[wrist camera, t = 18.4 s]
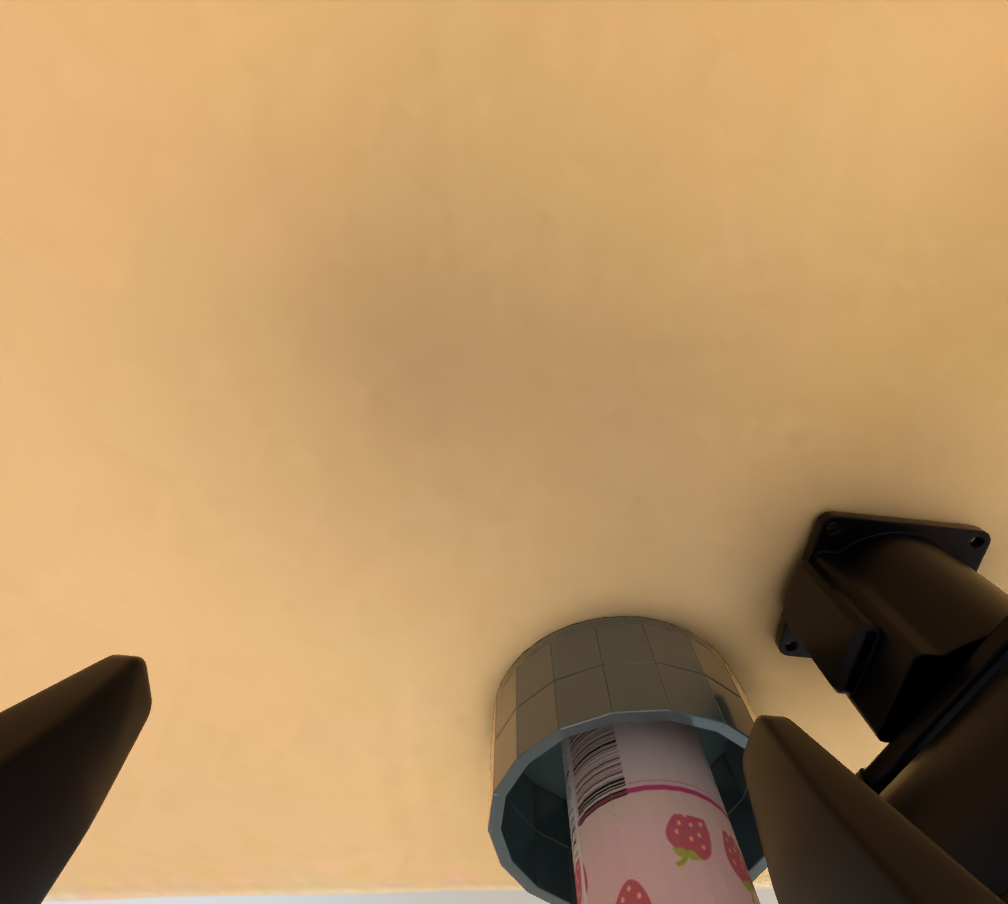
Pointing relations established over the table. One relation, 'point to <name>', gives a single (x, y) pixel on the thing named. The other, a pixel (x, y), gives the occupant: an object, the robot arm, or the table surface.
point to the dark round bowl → (596, 703)
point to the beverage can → (649, 819)
